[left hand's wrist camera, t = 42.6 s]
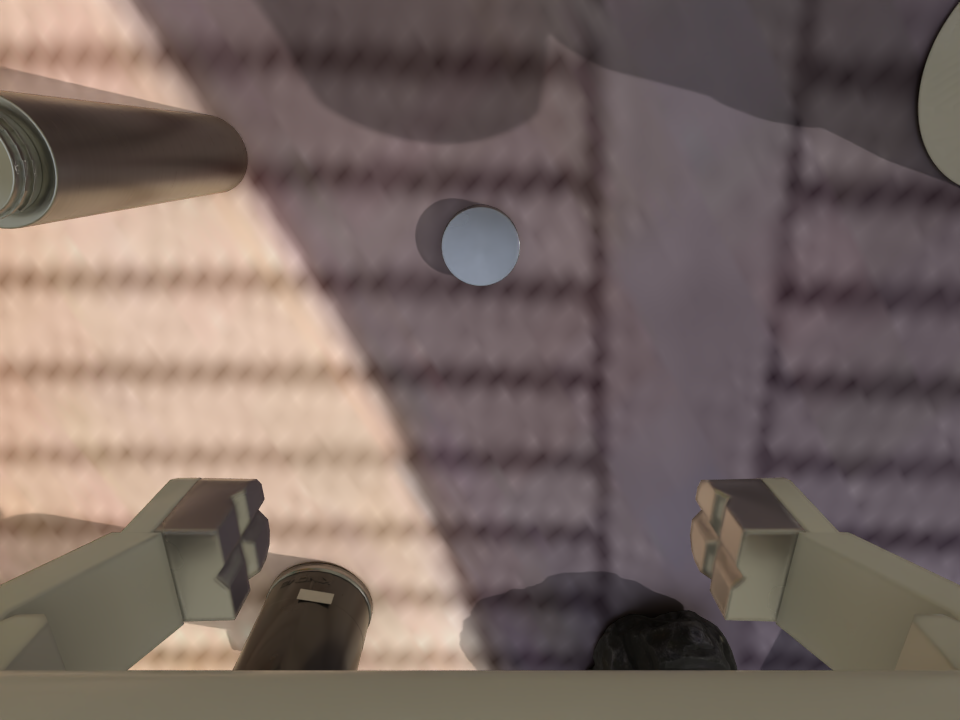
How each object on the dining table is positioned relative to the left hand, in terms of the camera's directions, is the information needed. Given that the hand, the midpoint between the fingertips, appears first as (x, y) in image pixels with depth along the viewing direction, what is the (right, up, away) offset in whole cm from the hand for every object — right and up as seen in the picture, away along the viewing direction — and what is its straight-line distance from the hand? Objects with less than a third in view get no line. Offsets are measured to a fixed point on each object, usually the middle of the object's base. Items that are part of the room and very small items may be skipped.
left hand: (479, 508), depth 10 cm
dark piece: (-18, +16, +26) cm, 36 cm away
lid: (0, +10, +27) cm, 29 cm away
